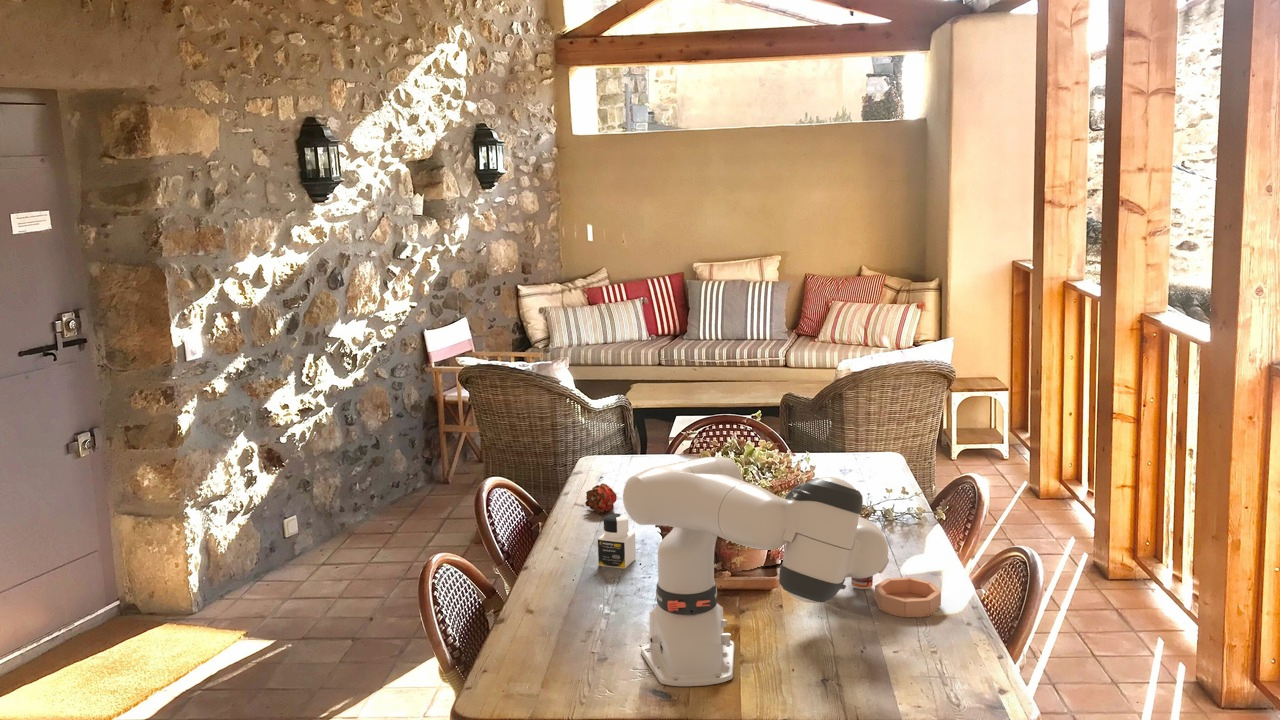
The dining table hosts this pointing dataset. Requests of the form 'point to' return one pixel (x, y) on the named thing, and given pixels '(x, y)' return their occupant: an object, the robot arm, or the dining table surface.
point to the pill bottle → (862, 582)
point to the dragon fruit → (601, 498)
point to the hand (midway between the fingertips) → (864, 566)
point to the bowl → (907, 597)
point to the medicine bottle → (616, 543)
